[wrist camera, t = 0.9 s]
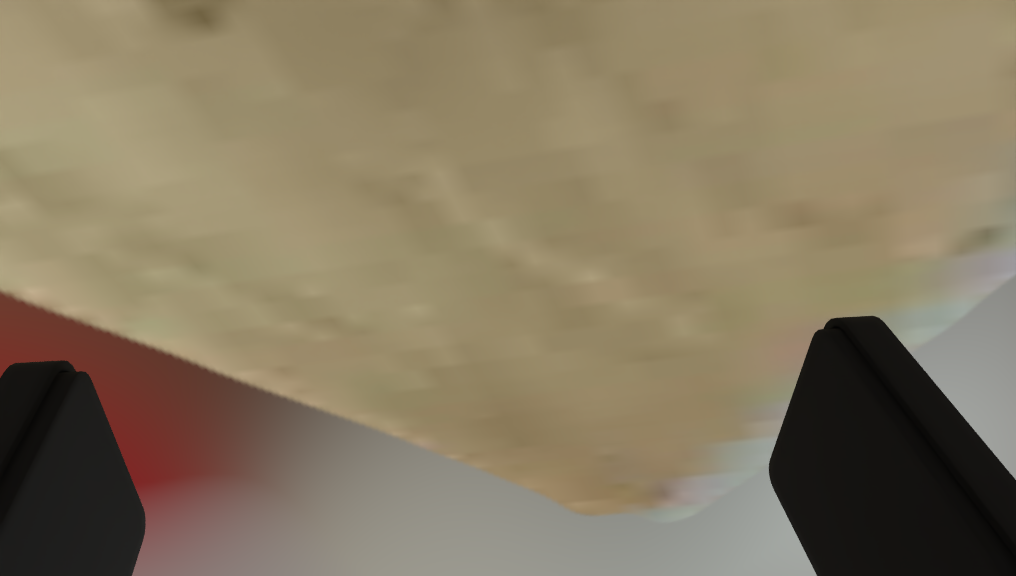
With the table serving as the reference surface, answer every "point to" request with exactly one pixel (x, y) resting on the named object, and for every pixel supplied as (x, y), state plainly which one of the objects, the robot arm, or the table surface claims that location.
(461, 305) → the table surface
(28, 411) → the robot arm
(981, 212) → the table surface
